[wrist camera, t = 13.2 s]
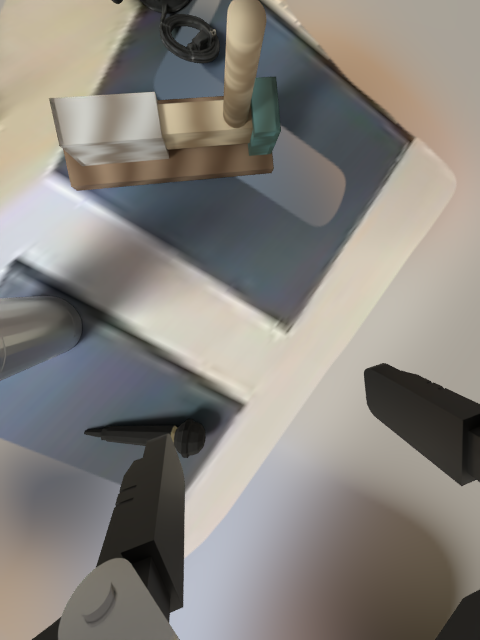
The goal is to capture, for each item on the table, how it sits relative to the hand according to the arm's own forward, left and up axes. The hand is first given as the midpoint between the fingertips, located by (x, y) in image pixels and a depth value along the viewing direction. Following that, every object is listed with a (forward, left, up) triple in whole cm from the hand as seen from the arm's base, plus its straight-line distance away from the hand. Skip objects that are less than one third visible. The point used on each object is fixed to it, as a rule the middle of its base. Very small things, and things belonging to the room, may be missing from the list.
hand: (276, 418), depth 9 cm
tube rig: (-5, +26, -31) cm, 41 cm away
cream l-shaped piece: (-1, +26, -29) cm, 39 cm away
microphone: (-16, -17, -32) cm, 39 cm away
